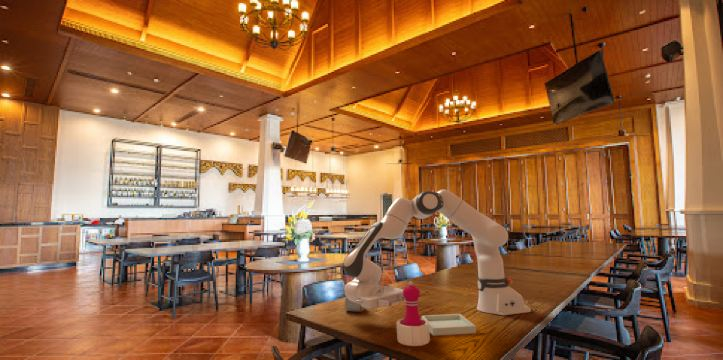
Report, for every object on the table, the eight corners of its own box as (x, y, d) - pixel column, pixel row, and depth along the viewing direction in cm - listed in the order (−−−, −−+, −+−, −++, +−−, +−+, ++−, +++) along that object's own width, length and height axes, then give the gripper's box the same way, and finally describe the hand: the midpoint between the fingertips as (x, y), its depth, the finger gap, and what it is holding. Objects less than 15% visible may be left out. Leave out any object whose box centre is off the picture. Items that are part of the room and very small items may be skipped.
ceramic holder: (424, 333, 125) (423, 316, 126) (433, 344, 114) (432, 326, 115) (395, 335, 124) (394, 318, 125) (400, 346, 113) (400, 328, 114)
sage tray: (460, 320, 140) (459, 313, 140) (476, 333, 124) (475, 325, 124) (421, 322, 139) (421, 315, 139) (433, 335, 123) (432, 328, 123)
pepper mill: (408, 344, 115) (405, 283, 117) (399, 337, 122) (397, 280, 124) (427, 342, 117) (424, 282, 119) (418, 335, 124) (415, 278, 126)
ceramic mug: (361, 313, 153) (361, 296, 154) (344, 312, 156) (344, 295, 157) (367, 308, 163) (367, 291, 164) (351, 307, 166) (351, 290, 167)
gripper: (353, 292, 130) (377, 298, 119) (391, 284, 143) (417, 288, 132) (353, 309, 129) (378, 316, 118) (392, 299, 142) (417, 305, 131)
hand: (399, 301), depth 125 cm, fingers open, 8 cm apart
